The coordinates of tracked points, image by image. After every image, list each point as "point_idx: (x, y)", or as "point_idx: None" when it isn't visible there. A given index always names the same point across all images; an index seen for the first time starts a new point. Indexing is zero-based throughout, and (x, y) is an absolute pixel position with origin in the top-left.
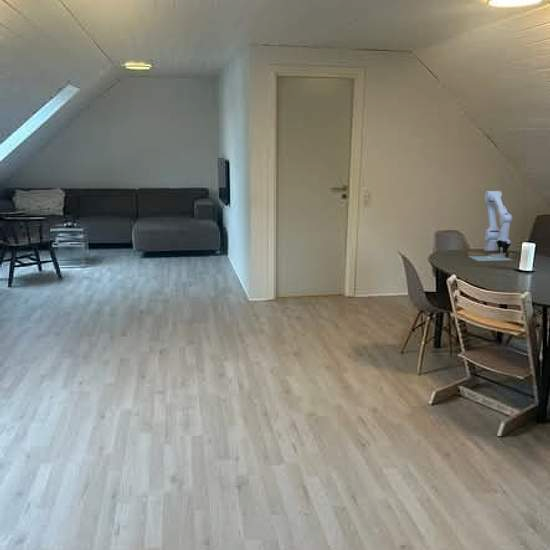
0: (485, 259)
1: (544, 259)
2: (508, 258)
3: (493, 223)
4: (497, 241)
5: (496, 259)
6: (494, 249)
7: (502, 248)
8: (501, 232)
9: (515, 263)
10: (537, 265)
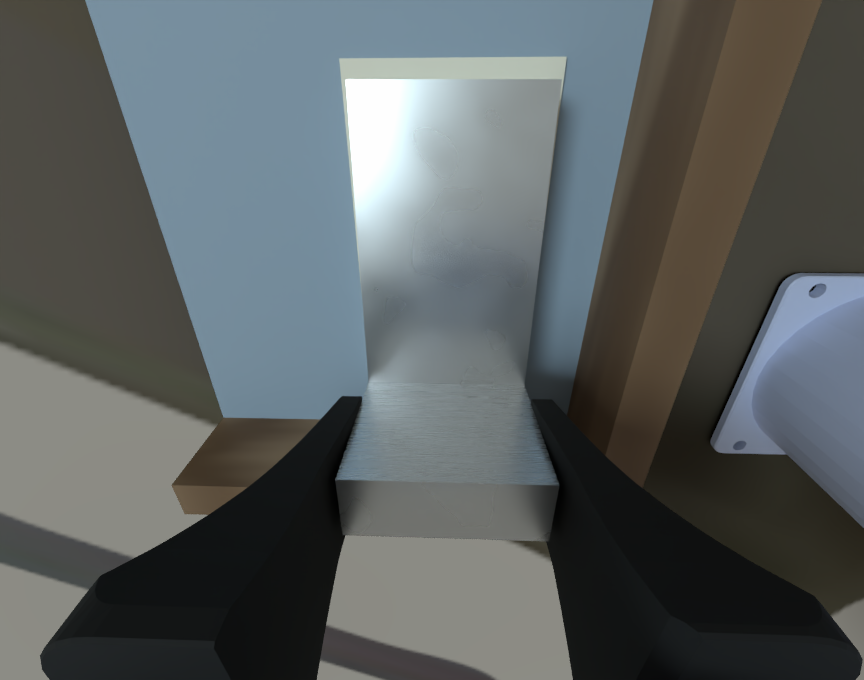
0: None
1: (352, 666)
2: None
3: None
4: (732, 647)
5: (238, 157)
6: (828, 430)
7: (389, 471)
8: None
9: (51, 362)
10: (24, 528)
